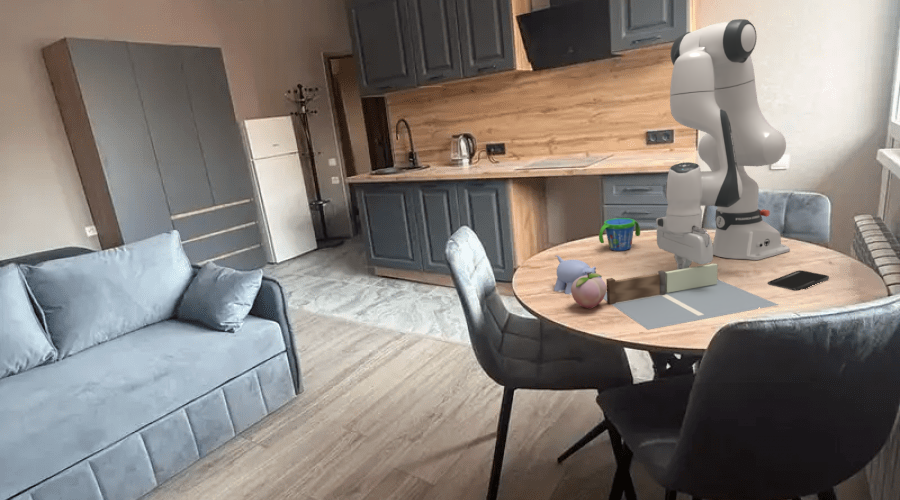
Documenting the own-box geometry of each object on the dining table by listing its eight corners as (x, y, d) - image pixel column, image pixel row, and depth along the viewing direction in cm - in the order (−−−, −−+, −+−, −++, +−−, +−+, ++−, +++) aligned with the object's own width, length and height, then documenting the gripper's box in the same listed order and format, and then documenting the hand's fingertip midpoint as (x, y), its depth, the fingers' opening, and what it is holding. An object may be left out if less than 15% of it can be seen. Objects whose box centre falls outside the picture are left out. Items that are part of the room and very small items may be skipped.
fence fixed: (662, 292, 134) (662, 269, 132) (666, 294, 132) (666, 270, 130) (606, 302, 131) (606, 278, 130) (610, 304, 130) (609, 280, 128)
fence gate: (667, 292, 132) (667, 273, 131) (664, 291, 134) (664, 272, 132) (717, 283, 134) (717, 264, 133) (714, 282, 136) (714, 263, 134)
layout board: (705, 275, 143) (705, 274, 143) (778, 306, 118) (778, 304, 118) (595, 294, 138) (595, 293, 138) (647, 331, 114) (647, 329, 113)
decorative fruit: (584, 299, 136) (582, 265, 133) (611, 305, 130) (610, 269, 127) (564, 311, 130) (562, 275, 127) (592, 318, 124) (591, 280, 121)
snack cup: (606, 255, 173) (605, 227, 170) (593, 248, 183) (592, 221, 180) (648, 248, 175) (647, 220, 172) (632, 242, 185) (632, 215, 182)
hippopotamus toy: (587, 301, 135) (585, 268, 132) (546, 290, 147) (543, 259, 144) (611, 290, 141) (610, 258, 138) (570, 280, 153) (568, 250, 150)
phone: (765, 282, 132) (799, 269, 138) (765, 286, 132) (799, 273, 138) (797, 290, 125) (831, 276, 131) (797, 294, 125) (831, 280, 131)
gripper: (720, 228, 127) (718, 279, 131) (672, 215, 147) (671, 260, 150) (697, 232, 126) (697, 283, 130) (652, 218, 146) (652, 263, 149)
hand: (683, 270), depth 140 cm, fingers closed
